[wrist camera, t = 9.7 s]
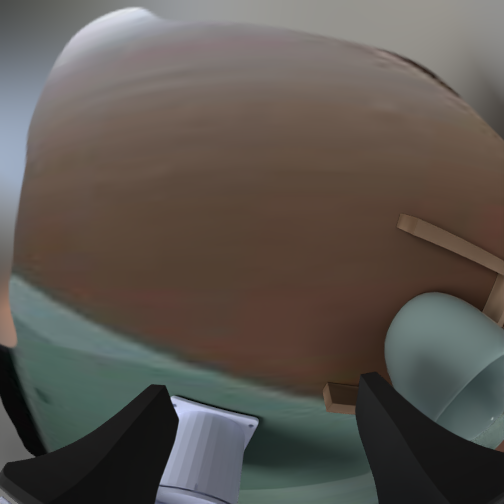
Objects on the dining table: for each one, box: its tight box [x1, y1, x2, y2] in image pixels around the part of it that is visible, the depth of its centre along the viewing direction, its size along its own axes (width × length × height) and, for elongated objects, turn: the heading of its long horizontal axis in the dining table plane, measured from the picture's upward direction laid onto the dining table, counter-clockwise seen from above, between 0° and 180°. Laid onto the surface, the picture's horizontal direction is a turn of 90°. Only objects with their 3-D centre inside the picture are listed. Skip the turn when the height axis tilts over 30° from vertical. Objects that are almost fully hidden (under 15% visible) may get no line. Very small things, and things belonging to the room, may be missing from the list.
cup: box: [384, 292, 504, 441], centre depth 13 cm, size 8×8×10 cm
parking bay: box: [323, 213, 504, 414], centre depth 17 cm, size 15×14×2 cm
